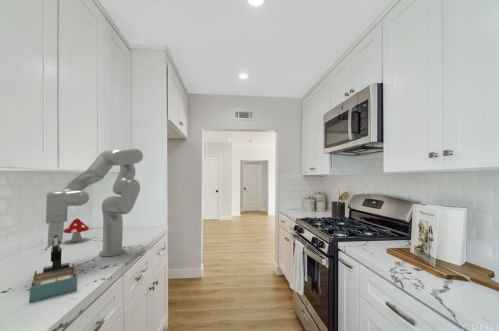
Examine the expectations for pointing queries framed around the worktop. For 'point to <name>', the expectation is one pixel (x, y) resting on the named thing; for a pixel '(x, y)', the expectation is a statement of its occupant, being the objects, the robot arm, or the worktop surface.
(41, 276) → the walnut channel
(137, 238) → the worktop surface
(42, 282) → the oak block
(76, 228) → the decorative mushroom
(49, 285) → the teal tray
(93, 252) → the worktop surface
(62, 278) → the oak block
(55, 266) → the grey stepped block
